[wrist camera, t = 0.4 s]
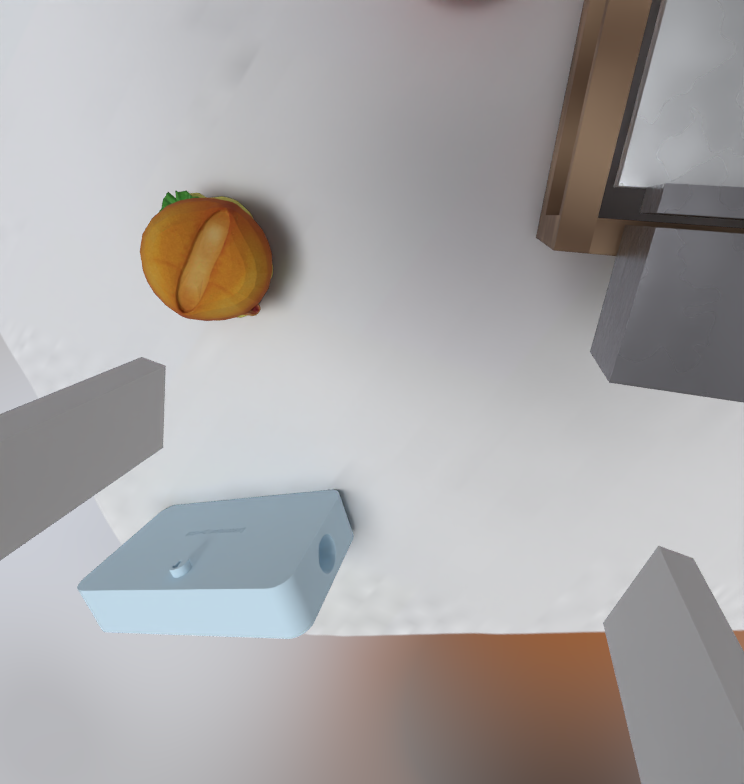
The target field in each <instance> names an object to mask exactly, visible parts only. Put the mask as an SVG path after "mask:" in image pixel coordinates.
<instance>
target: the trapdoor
mask: <svg viewBox="0 0 744 784" xmlns="http://www.w3.org/2000/svg"><path fill="white" fill-rule="evenodd" d="M614 187H620V188H638V189H646V191H645V195H644V198H643V202H642V205H641V209H640V212H639V213H647V214H662V215H677V216H691V217H706V218H721V219H735V220H744V0H662V1H661V5H660V8H659V12H658V16H657V20H656V24H655V28H654V32H653V36H652V39H651V43H650V47H649V51H648V55H647V59H646V63H645V67H644V70H643V74H642V78H641V82H640V86H639V90H638V94H637V98H636V102H635V105H634V109H633V113H632V117H631V121H630V125H629V129H628V133H627V136H626V140H625V144H624V148H623V152H622V156H621V160H620V164H619V167H618V171H617V175H616V179H615V183H614ZM590 352H591V354H592V356H593V357H594V359H595V360H596V362H597V364H598V365H599V367H600V368H601V370H602V372H603V373H604V375H605V376H606V378H607V380H608V381H609V382H610V383H617V384H623V385H630V386H637V387H643V388H650V389H657V390H664V391H670V392H677V393H684V394H690V395H697V396H704V397H711V398H717V399H724V400H731V401H737V402H744V234H742V233H728V232H715V231H701V230H688V229H674V228H661V227H647V226H634V225H625V227H624V231H623V235H622V238H621V242H620V245H619V249H618V253H617V256H616V260H615V264H614V267H613V271H612V274H611V278H610V282H609V285H608V289H607V293H606V296H605V300H604V303H603V307H602V311H601V314H600V318H599V322H598V325H597V329H596V332H595V336H594V340H593V343H592V347H591V350H590Z"/></svg>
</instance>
